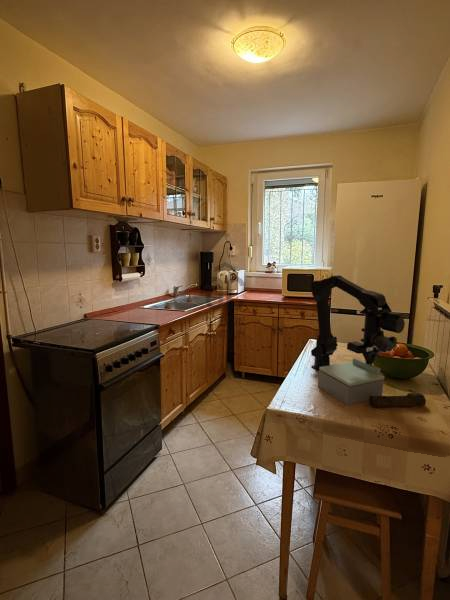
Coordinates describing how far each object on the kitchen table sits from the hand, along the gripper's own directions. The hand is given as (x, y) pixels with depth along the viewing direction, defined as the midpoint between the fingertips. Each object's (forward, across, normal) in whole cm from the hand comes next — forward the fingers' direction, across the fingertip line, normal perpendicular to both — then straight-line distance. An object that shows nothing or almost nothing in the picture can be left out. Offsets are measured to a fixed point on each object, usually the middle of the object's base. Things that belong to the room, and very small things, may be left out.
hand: (369, 366), depth 122 cm
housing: (+8, -10, 0) cm, 13 cm away
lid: (+2, -9, 0) cm, 9 cm away
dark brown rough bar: (+9, -2, -14) cm, 17 cm away
